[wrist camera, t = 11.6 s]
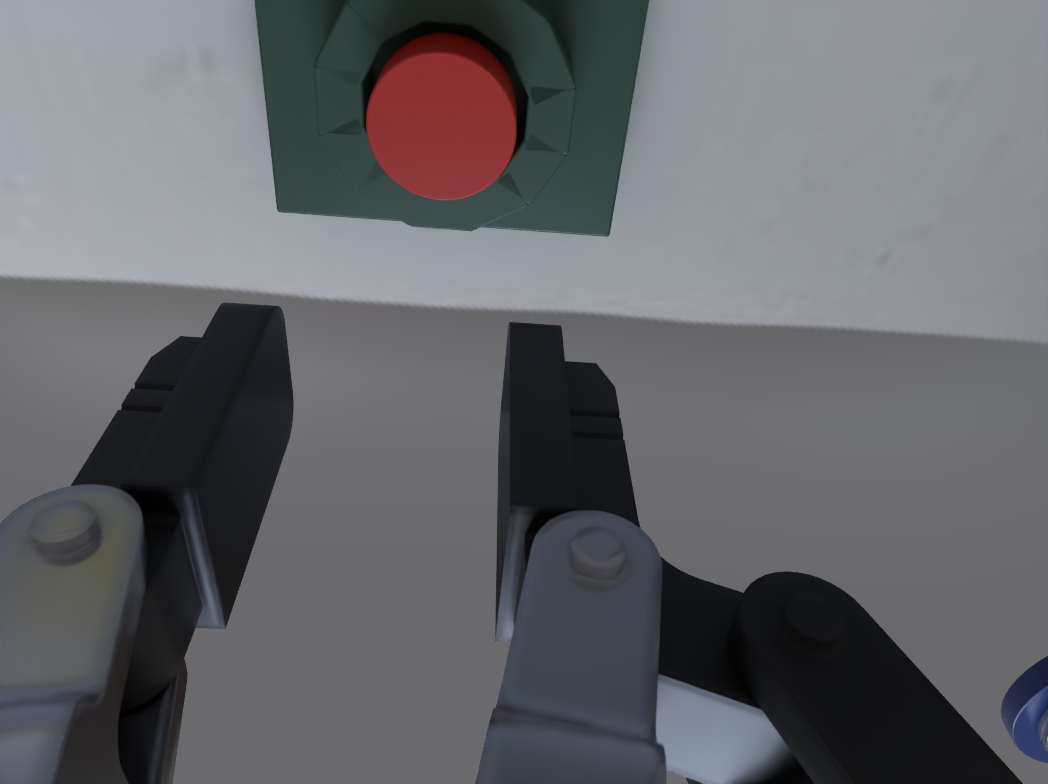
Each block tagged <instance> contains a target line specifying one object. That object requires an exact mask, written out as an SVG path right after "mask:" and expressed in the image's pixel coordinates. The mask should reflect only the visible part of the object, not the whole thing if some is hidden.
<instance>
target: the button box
mask: <svg viewBox="0 0 1048 784" xmlns="http://www.w3.org/2000/svg"><path fill="white" fill-rule="evenodd" d="M648 3H649V0H255V8H256V18H257V27H258V36H259V46H260V55H261V64H262V73H263V83H264V92H265V101H266V111H267V120H268V129H269V138H270V148H271V157H272V166H273V176H274V185H275V194H276V203H277V210H278V212H285V213H299V214H312V215H325V216H339V217H352V218H366V219H379V220H392V221H403V222H404V223H406V224H408V225H411V226H412V227H425V228H438V229H452V230H465V231H473V229H474V230H475V229H478V228H480V227H486V228H500V229H513V230H526V231H540V232H553V233H567V234H580V235H593V236H609V234H610V229H611V223H612V217H613V211H614V205H615V199H616V193H617V187H618V181H619V176H620V170H621V164H622V158H623V152H624V146H625V140H626V134H627V128H628V122H629V116H630V110H631V104H632V98H633V92H634V86H635V80H636V74H637V68H638V63H639V57H640V51H641V45H642V39H643V33H644V27H645V21H646V15H647V9H648ZM438 32H442V33H454V34H459V35H462V36H466V37H468V38H470V39H473V40H475V41H477V42H478V43H480V44H482V45H483V46H485V47H486V48H487V49H488V50H490V51H491V52H492V53H493V54H494V55H495V56H496V57H497V58H498V59H499V61H500V62H501V63H502V65H503V66H504V67H505V69H506V71H507V73H508V75H509V77H510V79H511V82H512V84H513V88H514V92H515V97H516V114H517V136H516V143H515V148H514V151H513V154H512V157H511V159H510V161H509V163H508V165H507V167H506V168H505V170H504V171H503V173H502V174H501V175H500V176H499V177H498V178H497V179H496V180H495V181H494V182H493V183H492V184H491V185H490V186H488V187H487V188H485V189H484V190H482V191H480V192H478V193H476V194H474V195H471V196H469V197H465V198H461V199H455V200H436V199H430V198H426V197H422V196H419V195H417V194H414V193H412V192H410V191H408V190H406V189H405V188H403V187H402V186H400V185H399V184H397V183H396V182H395V181H394V180H393V179H392V178H391V177H389V176H388V174H387V173H386V172H385V171H384V170H383V169H382V167H381V166H380V164H379V163H378V161H377V160H376V158H375V156H374V154H373V152H372V149H371V146H370V144H369V140H368V135H367V128H366V113H367V107H368V102H369V99H370V96H371V93H372V91H373V89H374V86H375V84H376V82H377V80H378V78H379V75H380V73H381V71H382V69H383V67H384V65H385V64H386V62H387V61H388V59H389V58H390V56H391V55H392V54H393V53H394V52H395V51H396V50H397V49H398V48H400V47H401V46H402V45H403V44H405V43H407V42H408V41H410V40H412V39H414V38H416V37H419V36H422V35H425V34H430V33H438Z"/></svg>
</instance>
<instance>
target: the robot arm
mask: <svg viewBox="0 0 1048 784" xmlns="http://www.w3.org/2000/svg"><path fill="white" fill-rule="evenodd" d="M500 415H501V416H500V429H499V452H498V511H497V573H496V632H495V634H496V635H495V636H496V637H495V640H496V641H511V644H510V648H509V652H508V657H507V661H506V666H505V670H504V675H503V679H502V684H501V688H500V693H499V697H498V701H497V705H496V708H494V709H493V712H492V715H491V718H490V722H489V726H488V730H487V734H486V738H485V743H484V747H483V751H482V756H481V760H480V765H479V769H478V774H477V778H476V782H475V784H666V770H668V771H671V772H674V773H676V774H679V775H682V776H685V777H686V779H687V781H688V783H689V784H1023V783H1022V782H1021V781H1020V780H1019V779H1018V778H1017V777H1016V776H1015V774H1013V772H1012V771H1011V770H1010V769H1009V768H1008V767H1007V766H1006V765H1005V763H1004V762H1003V761H1002V760H1001V759H1000V758H999V757H998V756H997V755H996V754H995V753H994V751H993V750H992V749H991V748H990V747H989V746H988V745H987V744H986V743H985V741H984V740H983V739H982V738H981V737H980V736H979V735H978V734H977V733H976V732H975V731H974V729H973V728H972V727H971V726H970V725H969V724H968V723H967V722H966V721H965V720H964V718H963V717H962V716H961V715H960V714H959V713H958V712H957V711H956V710H955V709H954V707H953V706H952V705H951V704H950V703H949V702H948V701H947V700H946V699H945V697H944V696H943V695H942V694H941V693H940V692H939V691H938V690H937V689H936V688H935V686H934V685H933V684H932V683H931V682H930V681H929V680H928V679H927V678H926V677H925V676H924V674H923V673H922V672H921V671H920V670H919V669H918V668H917V667H916V666H915V664H914V663H913V662H912V661H911V660H910V659H909V658H908V657H907V656H906V655H905V653H904V652H903V651H902V650H901V649H900V648H899V647H898V646H897V645H896V644H895V642H894V641H893V640H892V639H891V638H890V637H889V636H888V635H887V634H886V633H885V632H884V630H883V629H882V628H881V627H880V626H879V625H878V624H877V623H876V622H875V621H874V619H873V618H872V617H871V616H870V615H869V614H868V613H867V612H866V611H865V609H864V608H863V607H861V605H860V604H859V603H858V602H857V601H856V600H855V599H854V598H852V597H851V596H850V595H848V594H847V593H846V592H845V591H843V590H842V589H840V588H838V587H837V586H835V585H833V584H831V583H829V582H827V581H825V580H823V579H821V578H818V577H814V576H812V575H808V574H803V573H798V572H776V573H771V574H767V575H764V576H762V577H760V578H758V579H756V580H755V581H754V582H752V583H751V584H750V585H749V586H748V588H747V589H746V590H745V592H744V593H742V592H739V591H736V590H733V589H730V588H726V587H723V586H720V585H717V584H714V583H711V582H708V581H704V580H701V579H698V578H696V577H694V576H691V575H688V574H686V573H684V572H683V571H681V570H679V569H677V568H675V567H674V566H672V565H671V564H669V563H668V562H667V561H665V560H664V559H663V558H662V557H661V556H660V554H659V552H658V550H657V548H656V546H655V544H654V543H653V541H652V540H651V539H650V537H649V536H648V535H647V534H646V533H645V532H644V531H643V530H641V528H640V525H639V521H638V516H637V510H636V504H635V499H634V493H633V487H632V481H631V476H630V470H629V464H628V459H627V453H626V448H625V442H624V440H623V430H622V424H621V419H620V418H619V407H618V402H617V396H616V390H615V386H614V385H613V384H612V383H611V381H610V380H609V379H608V378H607V376H606V375H605V374H604V373H603V371H602V370H601V369H600V368H599V366H598V365H597V364H596V363H583V362H567V361H565V358H564V349H563V337H562V328H561V326H559V325H544V324H530V323H516V322H509V328H508V337H507V348H506V358H505V369H504V380H503V391H502V402H501V414H500ZM292 421H293V390H292V381H291V372H290V363H289V355H288V345H287V336H286V327H285V321H284V315H283V312H282V309H281V308H280V307H279V306H269V305H254V304H239V303H222V304H221V305H220V306H219V308H218V310H217V311H216V313H215V315H214V317H213V319H212V320H211V322H210V324H209V326H208V328H207V329H206V331H205V333H204V335H203V337H202V338H200V337H185V336H180V337H179V338H178V339H176V340H175V341H173V342H172V343H171V344H169V345H168V346H166V347H165V348H164V349H162V350H161V351H159V352H158V353H157V354H155V355H154V356H152V357H151V358H150V360H149V361H148V363H147V365H146V366H145V368H144V369H143V371H142V373H141V374H140V376H139V377H138V379H137V381H136V382H135V388H134V389H131V390H130V392H129V393H128V395H127V397H126V399H125V400H124V402H123V403H122V409H121V410H118V411H117V413H116V414H115V416H114V418H113V419H112V421H111V422H110V424H109V425H108V427H107V429H106V430H105V432H104V434H103V435H102V437H101V438H100V440H99V441H98V443H97V445H96V446H95V448H94V449H93V451H92V453H91V454H90V456H89V458H88V459H87V461H86V462H85V464H84V465H83V467H82V469H81V470H80V472H79V473H78V475H77V477H76V478H75V480H74V482H73V483H72V485H71V486H69V487H64V488H60V489H56V490H53V491H50V492H47V493H44V494H42V495H40V496H38V497H35V498H33V499H31V500H30V501H28V502H26V503H24V504H22V505H21V506H19V507H18V508H17V509H15V510H14V511H13V512H11V513H10V514H9V515H8V516H7V517H6V518H5V519H4V520H3V521H2V522H1V523H0V784H172V782H173V775H174V768H175V761H176V754H177V748H178V740H179V734H180V726H181V720H182V713H183V706H184V699H185V692H186V684H187V668H186V663H185V660H184V657H185V654H186V652H187V649H188V646H189V643H190V641H191V638H192V635H193V632H194V630H195V628H214V629H226V626H227V623H228V620H229V617H230V614H231V611H232V608H233V605H234V602H235V599H236V596H237V593H238V590H239V587H240V584H241V581H242V578H243V575H244V572H245V569H246V566H247V563H248V560H249V557H250V554H251V551H252V548H253V545H254V543H255V540H256V536H257V533H258V530H259V528H260V524H261V522H262V519H263V516H264V513H265V510H266V507H267V504H268V501H269V498H270V495H271V492H272V489H273V486H274V483H275V480H276V477H277V474H278V471H279V468H280V465H281V462H282V459H283V456H284V453H285V450H286V447H287V444H288V441H289V438H290V434H291V428H292ZM1037 732H1038V736H1039V739H1040V740H1041V742H1042V744H1043V746H1044V748H1045V749H1046V751H1047V753H1048V708H1047V710H1046V711H1045V712H1044V713H1043V715H1042V717H1041V718H1040V721H1039V723H1038V729H1037Z"/></svg>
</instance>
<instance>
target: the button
mask: <svg viewBox="0 0 1048 784" xmlns="http://www.w3.org/2000/svg"><path fill="white" fill-rule="evenodd" d="M366 128H367V135H368V140H369V144H370V146H371V149H372V152H373V154H374V156H375V158H376V160H377V161H378V163H379V164H380V166H381V167H382V169H383V170H384V171H385V172H386V173H387V174H388V176H389V177H391V178H392V179H393V180H394V181H395V182H396V183H397V184H399V185H400V186H402V187H403V188H405V189H406V190H408V191H410V192H412V193H414V194H417V195H419V196H422V197H426V198H430V199H436V200H455V199H461V198H465V197H469V196H471V195H474V194H476V193H478V192H480V191H482V190H484V189H485V188H487V187H488V186H490V185H491V184H492V183H493V182H494V181H495V180H496V179H497V178H498V177H499V176H500V175H501V174H502V173H503V171H504V170H505V168H506V167H507V165H508V163H509V161H510V159H511V157H512V154H513V151H514V148H515V143H516V136H517V114H516V97H515V92H514V88H513V84H512V82H511V79H510V77H509V75H508V73H507V71H506V69H505V67H504V66H503V65H502V63H501V62H500V61H499V59H498V58H497V57H496V56H495V55H494V54H493V53H492V52H491V51H490V50H488V49H487V48H486V47H485V46H483V45H482V44H480V43H478V42H477V41H475V40H473V39H470V38H468V37H466V36H462V35H459V34H454V33H442V32H438V33H430V34H425V35H422V36H419V37H416V38H414V39H412V40H410V41H408V42H407V43H405V44H403V45H402V46H401V47H400V48H398V49H397V50H396V51H395V52H394V53H393V54H392V55H391V56H390V58H389V59H388V61H387V62H386V64H385V65H384V67H383V69H382V71H381V73H380V75H379V78H378V80H377V82H376V84H375V86H374V89H373V91H372V93H371V96H370V99H369V102H368V107H367V113H366Z"/></svg>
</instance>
